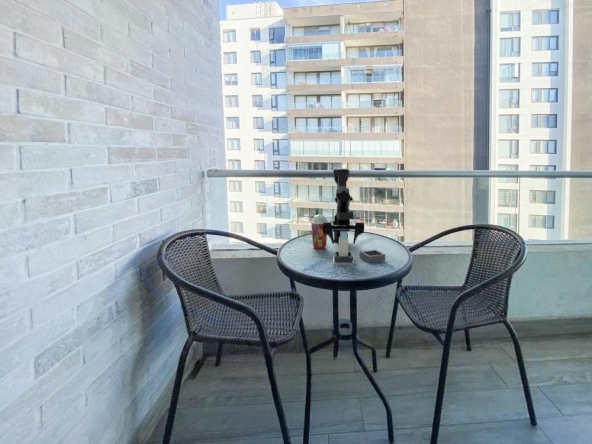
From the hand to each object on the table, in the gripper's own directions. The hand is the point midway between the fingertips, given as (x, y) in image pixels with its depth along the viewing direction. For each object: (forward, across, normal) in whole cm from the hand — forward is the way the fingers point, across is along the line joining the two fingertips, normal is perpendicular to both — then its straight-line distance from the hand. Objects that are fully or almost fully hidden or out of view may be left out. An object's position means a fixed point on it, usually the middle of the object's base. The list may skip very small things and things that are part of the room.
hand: (343, 243), depth 182 cm
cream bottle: (+4, 0, +6) cm, 8 cm away
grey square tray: (+2, +14, +10) cm, 17 cm away
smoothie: (-10, -11, +23) cm, 27 cm away
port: (+5, 0, +7) cm, 9 cm away
